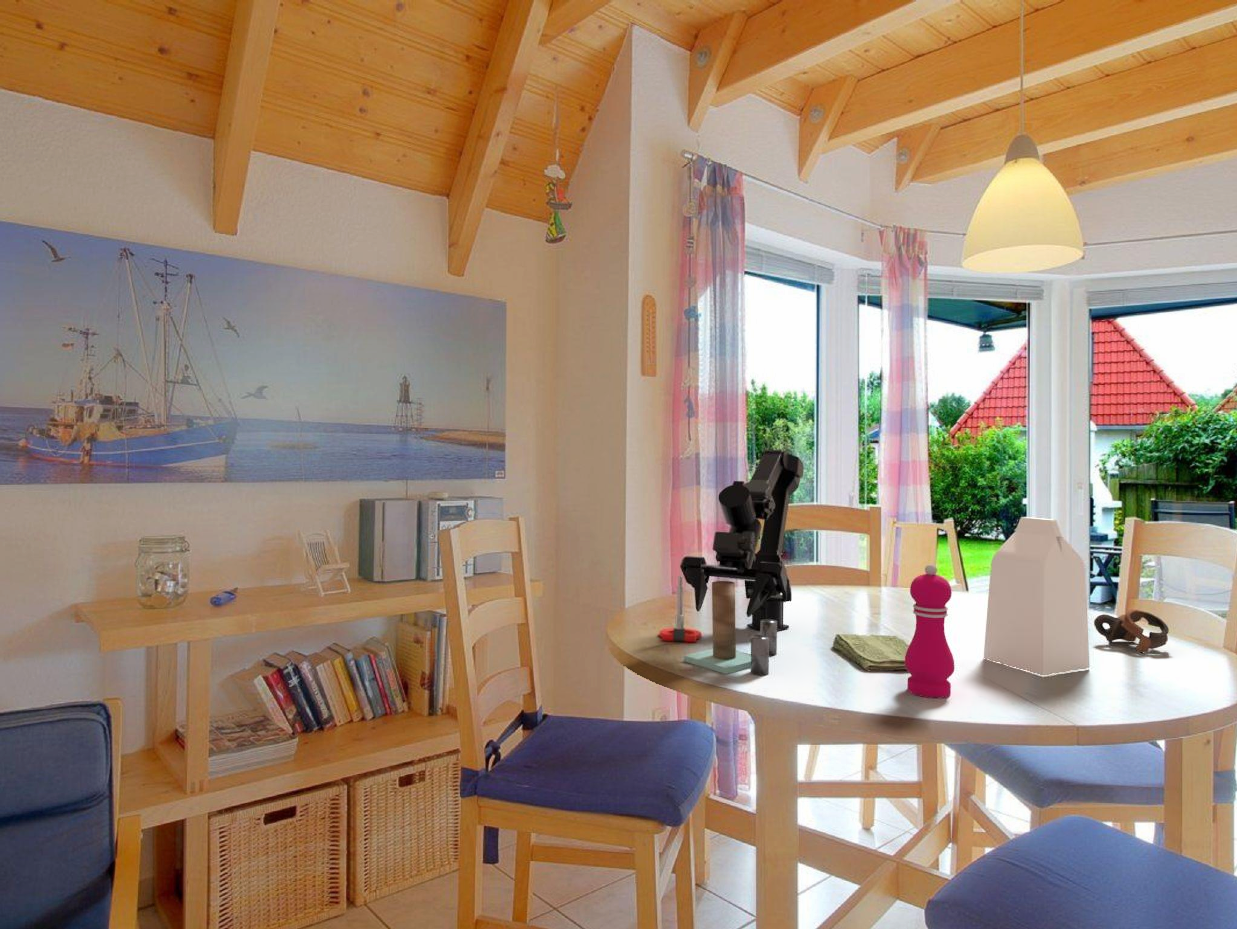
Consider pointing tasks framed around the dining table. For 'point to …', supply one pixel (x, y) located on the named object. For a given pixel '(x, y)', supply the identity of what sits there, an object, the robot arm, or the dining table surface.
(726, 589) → the walnut dowel
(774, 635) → the post farther from pad
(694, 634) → the tow hook
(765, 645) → the post near pad
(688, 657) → the teal pad
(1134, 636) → the brown ring bracket
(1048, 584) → the milk
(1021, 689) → the dining table surface
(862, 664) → the washcloth
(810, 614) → the dining table surface
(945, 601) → the pepper mill
